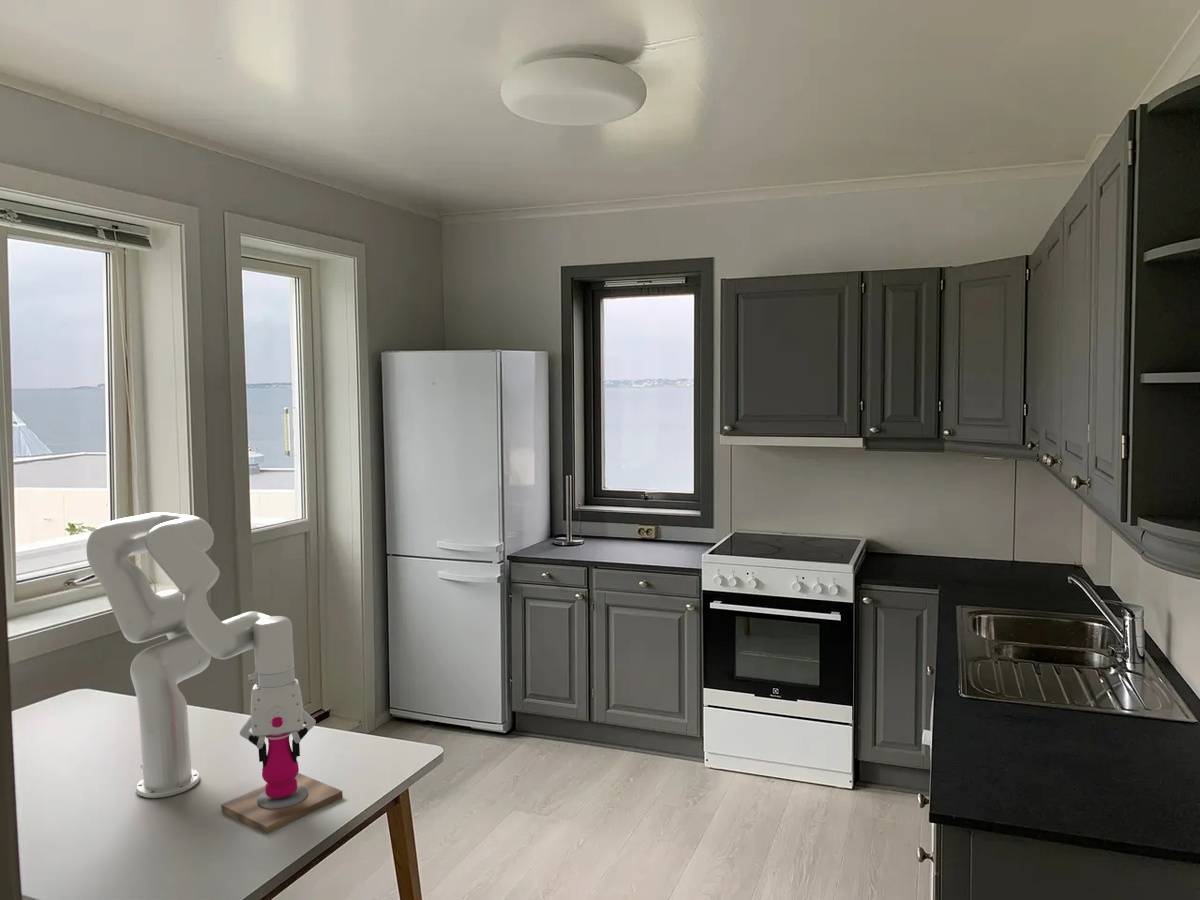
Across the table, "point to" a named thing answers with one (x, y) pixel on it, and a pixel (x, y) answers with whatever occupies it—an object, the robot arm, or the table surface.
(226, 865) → the table surface
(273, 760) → the pepper mill
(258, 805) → the walnut board
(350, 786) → the table surface
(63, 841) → the table surface
